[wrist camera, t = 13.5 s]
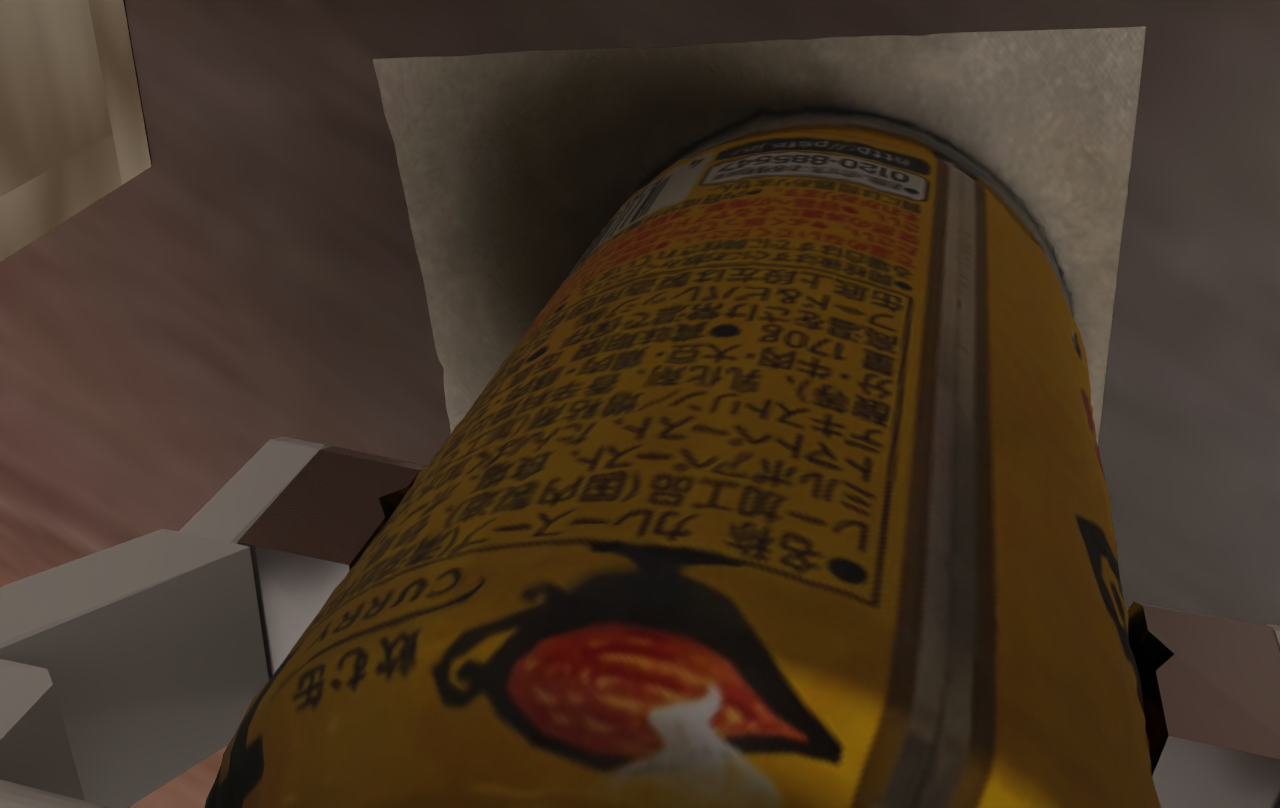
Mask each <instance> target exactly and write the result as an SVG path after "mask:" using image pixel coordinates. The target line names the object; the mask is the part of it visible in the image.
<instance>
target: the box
mask: <svg viewBox="0 0 1280 808" xmlns="http://www.w3.org/2000/svg"><path fill="white" fill-rule="evenodd" d="M150 167H151V161H150V155H149V149H148V143H147V137H146V131H145V125H144V119H143V114H142V108H141V102H140V96H139V90H138V84H137V78H136V72H135V66H134V61H133V55H132V49H131V43H130V37H129V31H128V25H127V19H126V13H125V8H124V2H123V0H0V262H1V261H3V260H4V259H6V258H7V257H9V256H11V255H12V254H14V253H15V252H17V251H18V250H20V249H22V248H23V247H25V246H26V245H28V244H30V243H31V242H33V241H34V240H36V239H37V238H39V237H41V236H42V235H44V234H45V233H47V232H49V231H50V230H52V229H53V228H55V227H56V226H58V225H60V224H61V223H63V222H64V221H66V220H68V219H69V218H71V217H72V216H74V215H75V214H77V213H79V212H80V211H82V210H83V209H85V208H87V207H88V206H90V205H91V204H93V203H94V202H96V201H98V200H99V199H101V198H102V197H104V196H106V195H107V194H109V193H110V192H112V191H113V190H115V189H117V188H118V187H120V186H121V185H123V184H125V183H126V182H128V181H129V180H131V179H132V178H134V177H136V176H137V175H139V174H140V173H142V172H144V171H145V170H147V169H148V168H150Z"/></svg>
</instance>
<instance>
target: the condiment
mask: <svg viewBox="0 0 1280 808" xmlns="http://www.w3.org/2000/svg"><path fill="white" fill-rule="evenodd" d="M1145 32H1146V26H1143V27H1119V28H1094V29H1059V30H1030V31H995V32H960V33H941V34H930V35H923V36H907V35H881V36H857V37H828V38H818V39H809V40H796V39H784V40H768V41H753V42H739V43H722V42H718V43H707V44H696V45H686V46H674V47H657V48H642V49H637V48H601V49H577V50H530V51H521V52H503V53H491V54H479V55H468V56H450V57H408V58H383V59H373V64H374V68H375V72H376V76H377V80H378V84H379V89H380V93H381V99H382V104H383V109H384V114H385V118H386V121H387V124H388V127H389V129H390V132H391V135H392V138H393V141H394V144H395V150H396V157H397V163H398V168H399V173H400V177H401V181H402V185H403V189H404V195H405V200H406V204H407V207H408V213H409V220H410V226H411V231H412V235H413V239H414V244H415V249H416V253H417V257H418V261H419V264H420V268H421V273H422V278H423V282H424V286H425V292H426V298H427V304H428V309H429V315H430V321H431V326H432V331H433V337H434V343H435V348H436V352H437V357H438V359H439V361H440V363H441V364H442V366H443V369H444V376H443V380H444V392H445V400H446V409H447V414H448V418H449V422H450V431H451V435H450V437H449V438H448V440H447V441H446V442H445V444H444V445H442V447H441V448H440V450H439V451H438V453H437V454H436V455H435V456H434V458H433V459H432V460H431V462H430V463H429V464H428V465H427V466H426V467H425V468H424V469H422V470H421V471H420V472H419V473H418V475H417V478H416V480H415V482H414V484H413V486H412V487H411V488H410V489H409V491H408V492H407V494H406V495H405V497H404V498H403V499H402V501H401V502H400V504H399V505H398V507H397V508H396V510H395V511H394V513H393V514H392V516H391V517H390V518H389V520H388V521H387V523H386V524H385V526H384V527H383V528H382V529H381V531H380V532H379V533H378V534H377V536H376V537H375V538H374V539H373V541H372V542H371V543H370V544H369V546H368V547H367V549H366V550H365V551H364V553H363V554H362V556H361V557H360V558H359V559H358V561H357V562H356V564H355V565H354V566H353V567H352V569H351V570H350V571H349V572H348V574H347V575H346V577H345V578H344V579H343V580H342V581H341V582H340V584H339V585H338V586H337V587H336V588H335V589H334V591H333V592H332V594H331V595H330V597H329V598H328V600H327V601H326V603H325V604H324V606H323V607H322V608H321V610H320V611H319V613H318V614H317V615H316V617H315V618H314V619H313V621H312V622H311V623H310V625H309V626H308V627H307V629H306V630H305V631H304V633H303V634H302V636H301V637H300V638H299V640H298V641H297V643H296V644H295V645H294V647H293V648H292V650H291V651H290V652H289V654H288V655H287V657H286V658H285V660H284V661H283V663H282V664H281V665H280V667H279V668H278V669H277V670H276V672H275V673H274V675H273V676H272V678H271V679H270V680H269V681H268V682H267V683H266V684H265V685H264V687H263V688H262V689H261V690H260V691H259V692H258V693H257V695H256V696H255V697H254V698H253V700H252V702H251V704H250V706H249V708H248V709H247V711H246V713H245V715H244V717H243V719H242V721H241V723H240V725H239V727H238V729H237V730H236V732H235V734H234V736H233V738H232V739H231V741H230V743H229V745H228V747H227V748H226V750H225V752H224V754H223V759H222V764H221V767H220V769H219V772H218V775H217V777H216V780H215V783H214V785H213V787H212V789H211V791H210V793H209V795H208V797H207V799H206V804H205V808H1161V806H1160V802H1159V799H1158V796H1157V792H1156V789H1155V786H1154V782H1153V778H1152V767H1151V760H1150V754H1149V741H1148V738H1147V735H1146V728H1145V723H1146V719H1145V715H1144V706H1143V696H1142V688H1141V681H1140V676H1139V672H1138V668H1137V665H1136V661H1135V657H1134V655H1133V652H1132V650H1131V648H1130V645H1129V637H1128V612H1127V609H1126V606H1125V603H1124V601H1123V595H1122V593H1123V589H1122V585H1121V582H1120V577H1119V569H1118V558H1117V543H1116V540H1115V537H1114V531H1113V524H1112V515H1111V503H1110V495H1109V492H1108V489H1107V486H1106V482H1105V477H1104V473H1103V469H1102V465H1101V460H1100V454H1099V448H1098V439H1099V430H1100V422H1101V415H1102V405H1103V394H1104V386H1105V375H1106V366H1107V357H1108V349H1109V342H1110V334H1111V325H1112V315H1113V306H1114V298H1115V291H1116V281H1117V271H1118V262H1119V254H1120V245H1121V236H1122V227H1123V221H1124V214H1125V207H1126V201H1127V196H1128V177H1129V172H1130V168H1131V157H1132V147H1133V139H1134V132H1135V123H1136V115H1137V106H1138V97H1139V88H1140V79H1141V70H1142V61H1143V52H1144V42H1145Z"/></svg>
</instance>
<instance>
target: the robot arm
mask: <svg viewBox="0 0 1280 808" xmlns="http://www.w3.org/2000/svg"><path fill="white" fill-rule="evenodd" d="M425 467H426V466H424V465H420V464H415V463H410V462H405V461H401V460H396V459H391V458H387V457H382V456H377V455H373V454H368V453H363V452H358V451H354V450H349V449H344V448H340V447H335V446H331V447H329V446H327V445H325V444H319V443H314V442H309V441H304V440H299V439H294V438H288V437H279V438H274V439H270V440H269V441H268V442H267V443H266V444H265V445H264V446H263V447H262V448H261V449H260V450H259V451H258V452H257V453H256V454H255V455H254V456H253V457H252V458H251V459H250V460H249V461H248V462H247V463H246V464H245V465H244V466H243V467H242V468H241V469H240V470H239V471H238V472H237V473H236V474H235V475H234V476H233V477H232V478H231V479H230V480H229V481H228V482H227V483H226V484H225V485H224V486H223V487H222V488H221V489H220V490H219V491H218V492H217V493H216V494H215V495H214V496H213V497H212V498H211V499H210V500H209V501H208V502H207V503H206V504H205V505H204V506H203V507H202V508H201V509H200V510H199V511H198V512H197V513H196V514H195V515H194V516H193V517H192V518H191V519H190V520H189V521H188V522H187V523H186V524H185V525H184V526H183V527H182V528H181V529H180V530H179V531H173V530H168V529H161V530H158V531H155V532H152V533H149V534H147V535H144V536H141V537H138V538H135V539H133V540H130V541H127V542H124V543H121V544H119V545H116V546H113V547H110V548H108V549H105V550H102V551H99V552H96V553H94V554H91V555H88V556H85V557H82V558H80V559H77V560H74V561H71V562H68V563H66V564H63V565H60V566H57V567H54V568H52V569H49V570H46V571H43V572H41V573H38V574H35V575H32V576H29V577H27V578H24V579H21V580H18V581H15V582H13V583H10V584H7V585H4V586H1V587H0V808H128V807H130V806H131V805H133V804H134V803H136V802H138V801H139V800H141V799H142V798H144V797H145V796H147V795H149V794H150V793H152V792H153V791H155V790H157V789H158V788H160V787H161V786H163V785H165V784H166V783H168V782H169V781H171V780H172V779H174V778H176V777H177V776H179V775H180V774H182V773H184V772H185V771H187V770H188V769H190V768H191V767H193V766H195V765H196V764H198V763H199V762H201V761H203V760H204V759H206V758H207V757H209V756H211V755H212V754H214V753H215V752H217V751H218V750H220V749H222V748H223V747H225V746H226V745H228V744H229V743H230V741H231V739H232V738H233V736H234V734H235V732H236V730H237V729H238V727H239V725H240V723H241V721H242V719H243V717H244V715H245V713H246V711H247V709H248V708H249V706H250V704H251V702H252V700H253V698H254V697H255V696H256V695H257V693H258V692H259V691H260V690H261V689H262V688H263V687H264V685H265V684H266V683H267V682H268V681H269V680H270V679H271V678H272V676H273V675H274V673H275V672H276V670H277V669H278V668H279V667H280V665H281V664H282V663H283V661H284V660H285V658H286V657H287V655H288V654H289V652H290V651H291V650H292V648H293V647H294V645H295V644H296V643H297V641H298V640H299V638H300V637H301V636H302V634H303V633H304V631H305V630H306V629H307V627H308V626H309V625H310V623H311V622H312V621H313V619H314V618H315V617H316V615H317V614H318V613H319V611H320V610H321V608H322V607H323V606H324V604H325V603H326V601H327V600H328V598H329V597H330V595H331V594H332V592H333V591H334V589H335V588H336V587H337V586H338V585H339V584H340V582H341V581H342V580H343V579H344V578H345V577H346V575H347V574H348V572H349V571H350V570H351V569H352V567H353V566H354V565H355V564H356V562H357V561H358V559H359V558H360V557H361V556H362V554H363V553H364V551H365V550H366V549H367V547H368V546H369V544H370V543H371V542H372V541H373V539H374V538H375V537H376V536H377V534H378V533H379V532H380V531H381V529H382V528H383V527H384V526H385V524H386V523H387V521H388V520H389V518H390V517H391V516H392V514H393V513H394V511H395V510H396V508H397V507H398V505H399V504H400V502H401V501H402V499H403V498H404V497H405V495H406V494H407V492H408V491H409V489H410V488H411V487H412V486H413V484H414V482H415V480H416V478H417V475H418V473H419V472H420V471H421V470H422V469H424V468H425ZM1127 612H1128V637H1129V645H1130V648H1131V650H1132V652H1133V655H1134V657H1135V661H1136V665H1137V668H1138V672H1139V676H1140V681H1141V688H1142V696H1143V706H1144V715H1145V719H1146V723H1145V728H1146V735H1147V738H1148V741H1149V754H1150V760H1151V767H1152V778H1153V782H1154V786H1155V789H1156V792H1157V796H1158V799H1159V802H1160V806H1161V808H1280V626H1278V625H1271V624H1263V625H1260V624H1254V623H1249V622H1243V621H1238V620H1232V619H1227V618H1221V617H1216V616H1210V615H1205V614H1200V613H1194V612H1189V611H1183V610H1178V609H1172V608H1167V607H1161V606H1156V605H1150V604H1145V603H1140V602H1133V603H1132V605H1131V607H1130V608H1129V610H1128V611H1127Z"/></svg>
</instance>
